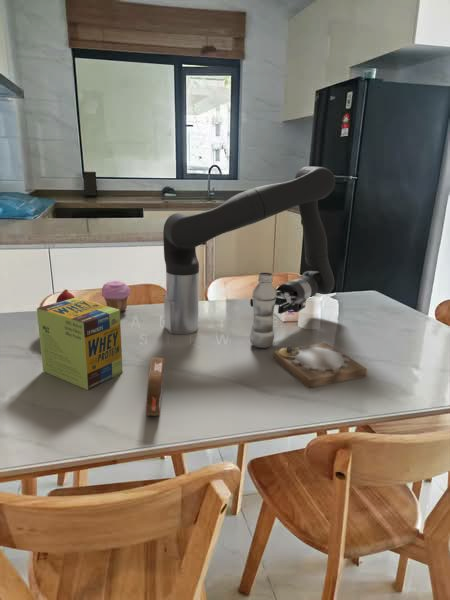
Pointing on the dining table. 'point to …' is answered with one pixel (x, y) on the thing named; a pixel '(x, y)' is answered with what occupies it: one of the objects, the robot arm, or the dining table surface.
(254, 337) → the plastic bottle
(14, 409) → the dining table surface
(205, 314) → the dining table surface
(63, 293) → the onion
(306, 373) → the gear board
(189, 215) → the robot arm
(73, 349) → the protein box
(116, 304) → the cupcake
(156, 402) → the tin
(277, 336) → the dining table surface
